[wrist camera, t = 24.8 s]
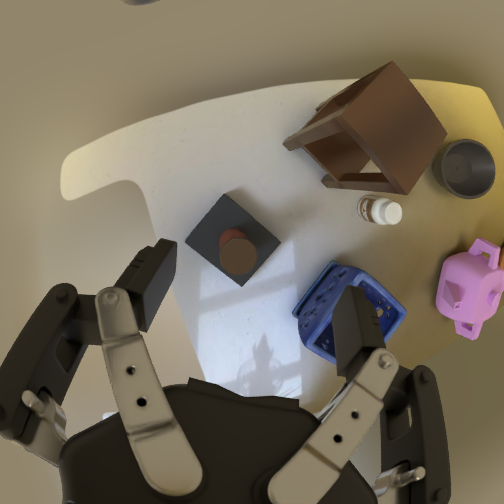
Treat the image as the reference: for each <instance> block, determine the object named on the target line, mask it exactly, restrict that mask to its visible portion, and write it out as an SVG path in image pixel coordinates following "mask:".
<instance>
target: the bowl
mask: <svg viewBox="0 0 504 504" xmlns="http://www.w3.org/2000/svg"><path fill="white" fill-rule="evenodd" d="M433 173H434V176H435V178H436V180H437V181H438V182H439V183H440V185H441V186H442V187H444V188H445V189H446V190H447V191H449V192H450V193H452V194H454V195H456V196H458V197H460V198H464V199H475V198H479V197H481V196H483V195H485V194H486V193H487V192H488V191H489V190H490V189H491V187H492V185H493V183H494V179H495V164H494V160H493V157H492V155H491V153H490V152H489V150H488V149H487V148H486V147H485V146H484V145H483V144H481V143H479V142H477V141H475V140H470V139H463V140H458V141H456V142H454V143H452V144H450V145H448V146H446V147H445V148H444V149H442V150H441V151H440V152H439V153H438V155H437V156H436V158H435V160H434V162H433Z"/></svg>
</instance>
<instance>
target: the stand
mask: <svg viewBox="0 0 504 504" xmlns="http://www.w3.org/2000/svg"><path fill="white" fill-rule="evenodd" d="M316 111H317V113H316V114H315V115H314V117H313V118H312V119H311V120H310V121H309V122H308V123H307V124H306V125H305V126H304V127H303V128H302V129H301V130H300V131H299V132H297V133H295V134H293V135H292V136H290V137H288V138H287V139H286V140H285V142H284V143H283V145H284V146H285V147H286V148H287V149H288V150H289V151H291V150H293V149H296V148H298V147H302V148H303V149H304V150H305V151H306V152H307V153H308V154H309V155H310V156H311V157H312V158H313V159H314V160H315V161H316V162H317V163H318V164H319V165H320V166H321V167H322V168H323V169H324V170H325V171H326V172H327V173H328V174H326V175H325V177H324V178H323V179H322V180H321V182H322V183H323V184H324V185H325V186H326V187H327V188H338V189H352V190H364V191H375V192H385V193H394V194H402V195H408V194H409V192H410V191H411V189H412V188H413V187H414V185H415V184H416V182H417V181H418V179H419V178H420V176H421V175H422V173H423V172H424V170H425V169H426V167H427V166H428V164H429V163H430V161H431V160H432V158H433V157H434V155H435V153H436V152H437V150H438V149H439V147H440V145H441V144H442V142H443V141H444V139H445V137H446V136H447V132H446V131H445V129H444V128H443V126H442V124H441V123H440V121H439V120H438V118H437V117H436V115H435V114H434V112H433V111H432V110H431V108H430V107H429V105H428V104H427V103H426V101H425V100H424V98H423V97H422V96H421V94H420V93H419V92H418V90H417V89H416V88H415V87H414V85H413V84H412V83H411V82H410V80H409V79H408V78H407V77H406V76H405V74H404V73H403V72H402V71H401V70H400V68H399V67H398V66H397V65H396V64H395V63H394V62H393V61H391V62H389V63H387V64H386V65H384V66H382V67H381V68H379V69H377V70H375V71H373V72H372V73H370V74H368V75H367V76H365V77H363V78H361V79H360V80H358V81H356V82H355V83H353V84H351V85H350V86H348V87H346V88H345V89H343V90H342V91H340V92H338V93H337V94H335V95H334V96H332V97H331V98H329V99H327V100H326V101H324V102H323V103H321V104H320V105H319V106H318V107H317V108H316ZM370 159H371V160H372V161H373V162H374V163H375V164H376V166H377V167H378V168H379V169H380V171H381V172H382V173H359V172H360V171H361V170H362V168H363V167H364V166H365V165H366V164H367V162H368V161H369V160H370Z"/></svg>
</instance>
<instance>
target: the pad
mask: <svg viewBox="0 0 504 504" xmlns="http://www.w3.org/2000/svg"><path fill="white" fill-rule="evenodd" d="M232 228H235V229H239V230H241V231H242V232H244V234H245V235H246V236H247V238H248V239H249V241H250V242H251V243H252V244H253V245H254V247H255V248H256V251H257V261H256V264H255V266H254V267H253V268H252V269H251V270H250V271H249V272H247V273H245V274H241V275H235V274H232V273H229V272H228V271H226V270H225V269H224V268H223V266H222V264H221V261H220V249H219V238H220V236H221V235H222V233H223V232H225V231H226V230H228V229H232ZM185 243H186V244H188V245H189V246H190V247H191V248H193V249H194V250H195V251H196V252H198V253H199V254H200V255H201V256H203V257H204V258H205V259H206V260H208V261H209V262H210V263H212V264H213V265H214V266H215V267H217V268H218V269H219V270H220V271H222V272H223V273H224V274H226V275H227V276H228V277H229V278H231V279H232V280H233V281H235V282H236V283H237V284H239V285H240V286H241V287H242V286H243V285H244V284H245V283H246V282H247V281H248V280H249V279H250V277H251V276H252V275H253V274H254V273H255V272H256V271H257V269H258V268H259V267H260V266H261V265H262V264H263V263H264V262H265V260H266V259H267V258H268V257H269V256H270V255H271V254H272V252H273V251H274V250H275V249H276V248H277V247H278V246H279V244H280V243H281V242H280V241H279V240H278V239H277V238H276V237H274V236H273V235H272V234H271V233H270V232H269V231H268V230H266V229H265V228H264V227H263V226H262V225H261V224H260V223H258V222H257V221H256V220H255V219H254V218H253V217H251V216H250V215H249V214H248V213H247V212H246V211H244V210H243V209H242V208H241V207H240V206H239V205H237V204H236V203H235V202H234V201H233V200H232V199H230V198H229V197H228V196H227V195H226V194H223V195H222V197H221V198H220V199H219V200H218V201H217V202H216V204H215V205H214V206H213V207H212V208H211V210H210V211H209V212H208V213H207V214H206V216H205V217H204V218H203V219H202V220H201V222H200V223H199V224H198V225H197V226H196V228H195V229H194V230H193V231H192V232H191V234H190V235H189V236H188V237H187V239H186V240H185Z"/></svg>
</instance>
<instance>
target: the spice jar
mask: <svg viewBox="0 0 504 504" xmlns="http://www.w3.org/2000/svg"><path fill="white" fill-rule="evenodd" d="M219 249H220V261H221V264H222V266H223V268H224V269H225V270H226V271H228V272H229V273H232V274H235V275H241V274H245V273H247V272H249V271H250V270H251V269H252V268H253V267H254V266H255V264H256V261H257V251H256V248H255V247H254V245H253V244H252V243H251V242H250V241H249V239H248V238H247V236H246V235H245V234H244V232H242V231H241V230H239V229H235V228H232V229H228V230H226V231H225V232H223V233H222V235H221V236H220V238H219Z"/></svg>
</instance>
